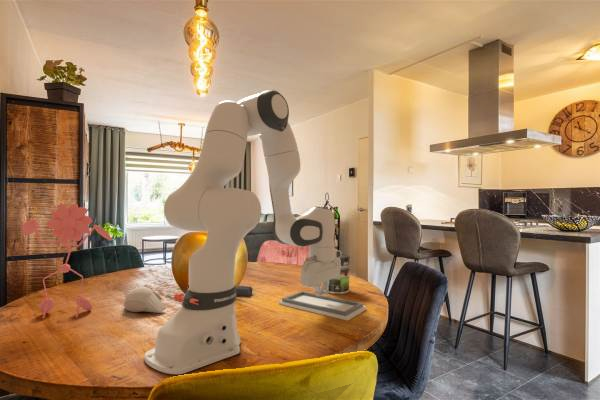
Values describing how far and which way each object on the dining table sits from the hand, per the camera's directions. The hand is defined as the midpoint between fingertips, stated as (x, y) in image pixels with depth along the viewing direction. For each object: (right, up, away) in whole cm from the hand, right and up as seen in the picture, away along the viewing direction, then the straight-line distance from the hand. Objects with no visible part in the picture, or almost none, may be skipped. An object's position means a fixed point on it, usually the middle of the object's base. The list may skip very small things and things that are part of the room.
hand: (321, 294), depth 114 cm
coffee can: (+7, -4, +21) cm, 22 cm away
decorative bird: (-53, -6, -7) cm, 54 cm away
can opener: (-35, -1, +17) cm, 39 cm away
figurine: (-81, -4, -7) cm, 81 cm away
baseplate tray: (0, -4, 0) cm, 4 cm away
